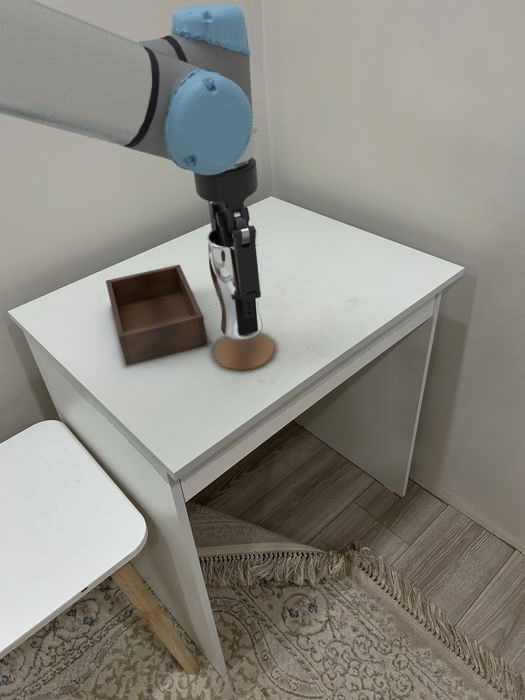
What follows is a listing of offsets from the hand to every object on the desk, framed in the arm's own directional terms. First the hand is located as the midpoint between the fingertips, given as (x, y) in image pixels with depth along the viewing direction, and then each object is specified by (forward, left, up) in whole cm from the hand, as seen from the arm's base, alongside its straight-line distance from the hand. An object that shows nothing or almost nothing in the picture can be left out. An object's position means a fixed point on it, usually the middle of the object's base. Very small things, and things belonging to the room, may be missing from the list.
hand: (240, 318), depth 79 cm
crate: (-11, +12, -6) cm, 17 cm away
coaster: (0, 0, -6) cm, 6 cm away
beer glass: (0, 0, -2) cm, 2 cm away
